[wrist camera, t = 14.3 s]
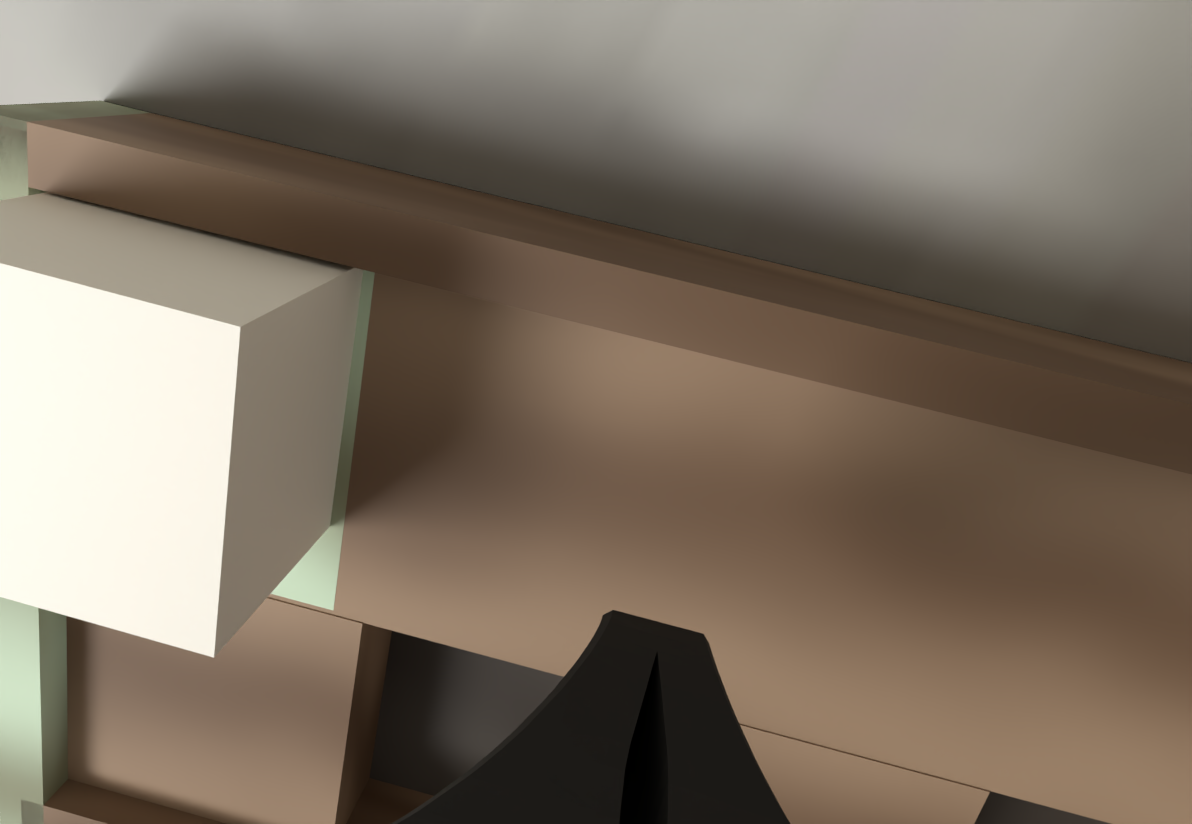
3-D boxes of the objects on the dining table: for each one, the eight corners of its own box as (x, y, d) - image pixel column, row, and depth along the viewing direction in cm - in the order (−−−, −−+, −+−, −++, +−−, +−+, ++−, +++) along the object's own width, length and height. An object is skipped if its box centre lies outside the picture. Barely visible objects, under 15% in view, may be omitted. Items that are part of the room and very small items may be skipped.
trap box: (1478, 1112, 21) (1604, 1288, 18) (96, 727, 22) (0, 827, 19) (1992, 555, 15) (2301, 674, 12) (100, 100, 17) (-34, 106, 14)
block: (329, 526, 17) (213, 657, 13) (72, 455, 17) (-114, 564, 13) (364, 262, 15) (240, 326, 11) (75, 186, 15) (-143, 225, 11)
